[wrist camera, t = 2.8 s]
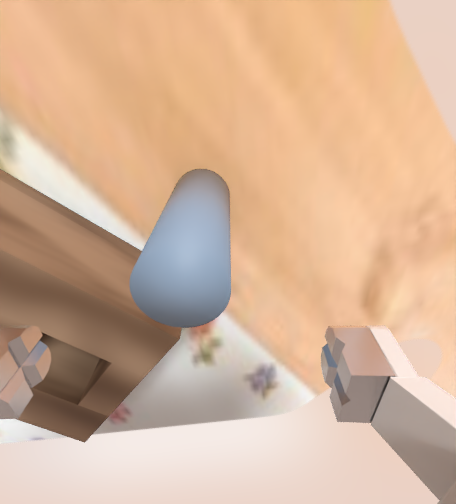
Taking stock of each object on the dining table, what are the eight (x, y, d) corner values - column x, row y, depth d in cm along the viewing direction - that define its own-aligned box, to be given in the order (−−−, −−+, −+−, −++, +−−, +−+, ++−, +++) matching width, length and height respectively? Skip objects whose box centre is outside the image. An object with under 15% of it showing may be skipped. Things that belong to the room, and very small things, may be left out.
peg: (209, 231, 20) (194, 340, 12) (164, 202, 19) (112, 298, 11) (240, 191, 19) (251, 282, 10) (194, 156, 18) (161, 226, 9)
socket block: (111, 375, 28) (83, 445, 23) (-133, 272, 22) (-249, 333, 17) (190, 279, 22) (179, 341, 17) (-109, 106, 16) (-271, 117, 11)
